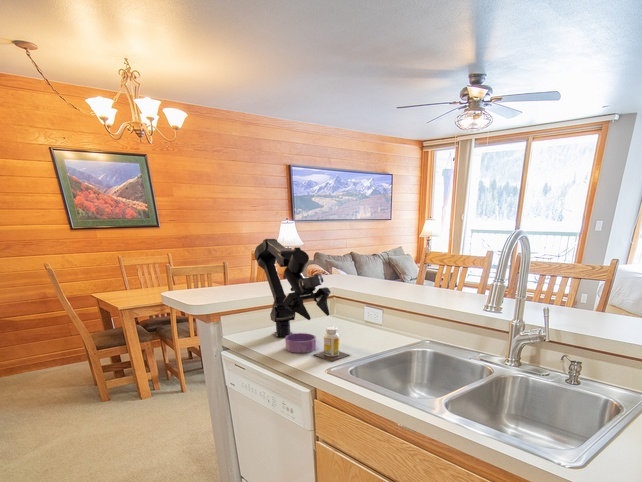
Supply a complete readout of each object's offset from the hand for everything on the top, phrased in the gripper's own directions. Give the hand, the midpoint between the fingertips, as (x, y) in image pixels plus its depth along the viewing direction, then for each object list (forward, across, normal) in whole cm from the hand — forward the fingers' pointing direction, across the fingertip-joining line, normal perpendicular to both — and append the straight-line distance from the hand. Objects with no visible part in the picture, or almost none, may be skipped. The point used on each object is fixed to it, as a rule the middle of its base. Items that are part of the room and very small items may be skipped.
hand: (319, 317), depth 145 cm
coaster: (+13, 0, +4) cm, 14 cm away
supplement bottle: (+13, 0, +4) cm, 14 cm away
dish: (+4, -3, +14) cm, 15 cm away
